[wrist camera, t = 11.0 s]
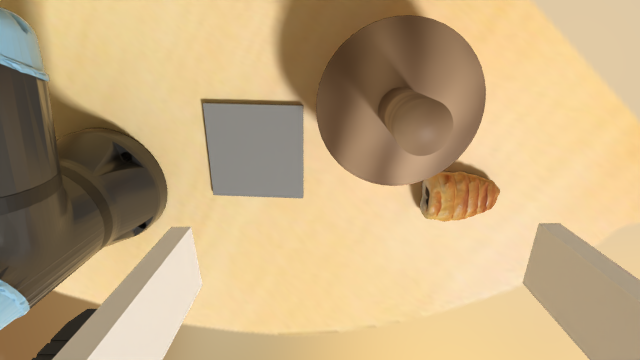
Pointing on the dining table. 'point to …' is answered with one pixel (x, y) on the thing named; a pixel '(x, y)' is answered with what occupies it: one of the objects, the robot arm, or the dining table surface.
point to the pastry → (457, 196)
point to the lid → (400, 100)
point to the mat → (255, 149)
